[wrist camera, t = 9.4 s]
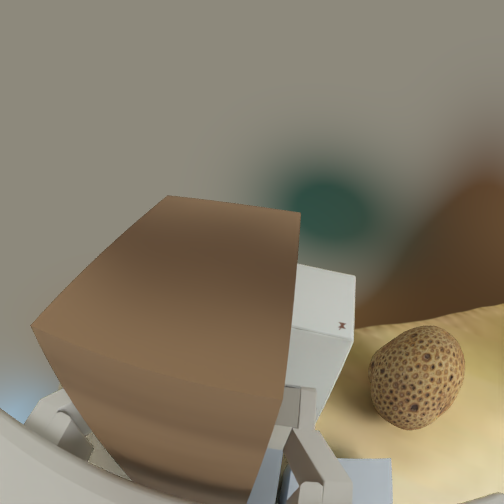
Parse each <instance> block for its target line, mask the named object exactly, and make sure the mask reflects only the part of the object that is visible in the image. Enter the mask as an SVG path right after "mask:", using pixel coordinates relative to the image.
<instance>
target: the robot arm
mask: <svg viewBox="0 0 504 504" xmlns="http://www.w3.org/2000/svg"><path fill="white" fill-rule="evenodd" d="M316 396H317V391H316V388H311V387H300V386H297V385H289V384H285V386H284V394H283V400H282V404H281V407H280V410H279V413H278V416H277V419H276V422H275V426H274V429H273V432H272V435H271V438H270V441H269V443H268V446H267V448H272V449H278V450H283V453H284V456H285V458H286V460H287V462H288V464H289V466H290V468H291V470H292V472H293V474H294V476H295V479H296V481H297V483H298V485H299V487H298V488H297V490H296V491H295V492H294V493H293V494H292V495H291V496H290V497H289V498H288V499H287V501H286V504H352V497H353V482H352V480H351V479H350V477H349V476H348V474H347V473H346V471H345V470H344V468H343V467H342V465H341V464H340V462H339V461H338V459H337V458H336V456H335V455H334V453H333V452H332V450H331V448H330V447H329V445H328V444H327V442H326V441H325V439H324V438H323V436H322V435H321V433H320V431H316V430H315V418H316ZM91 432H92V430H91V429H90V428H89V426H88V425H87V423H86V422H85V420H84V419H83V418H82V416H81V415H80V413H79V412H78V410H77V409H76V407H75V406H74V404H73V403H72V401H71V399H70V398H69V396H68V395H67V393H66V391H65V390H64V388H62V389H60V390H58V391H56V392H54V393H52V394H50V395H48V396H46V397H44V398H42V399H40V400H39V402H38V403H37V405H36V406H35V408H34V409H33V411H32V412H31V414H30V416H29V417H28V419H27V420H26V422H25V423H24V425H23V424H22V423H20V422H19V421H17V420H16V419H14V418H13V417H12V416H10V415H9V414H7V413H6V412H5V411H3V410H2V409H1V408H0V504H202V503H198V502H194V501H190V500H187V499H183V498H180V497H176V496H173V495H169V494H166V493H163V492H160V491H157V490H154V489H151V488H148V487H145V486H143V485H140V484H137V483H135V482H132V481H130V480H127V479H124V478H122V477H120V476H117V475H115V474H113V473H110V472H108V471H106V470H103V469H101V468H99V467H97V466H95V465H93V464H91V463H89V462H88V460H89V458H90V455H91V453H92V451H93V449H94V448H93V446H92V444H91V443H90V442H89V441H88V439H87V438H86V437H85V436H86V435H88V434H89V433H91ZM459 504H504V494H503V493H500V492H497V493H493V494H489V495H486V496H483V497H480V498H477V499H473V500H470V501H466V502H463V503H459Z"/></svg>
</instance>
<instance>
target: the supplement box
mask: <svg viewBox="0 0 504 504" xmlns="http://www.w3.org/2000/svg"><path fill="white" fill-rule="evenodd" d="M355 284H356V277H355V276H354V275H349V274H344V273H339V272H334V271H330V270H325V269H320V268H315V267H311V266H306V265H302V264H298V263H297V272H296V284H295V295H294V305H293V316H292V325H291V335H290V344H289V353H288V362H287V370H286V378H285V384H289V385H297V386H300V387H311V388H316V391H317V396H316V418H315V423H316V422H317V420H318V418H319V416H320V414H321V412H322V410H323V408H324V406H325V404H326V402H327V400H328V398H329V396H330V394H331V391H332V389H333V387H334V385H335V383H336V381H337V379H338V376H339V374H340V372H341V370H342V368H343V365H344V363H345V361H346V358H347V356H348V354H349V351H350V349H351V347H352V345H353V342H354V320H355Z"/></svg>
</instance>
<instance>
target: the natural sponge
mask: <svg viewBox="0 0 504 504" xmlns="http://www.w3.org/2000/svg"><path fill="white" fill-rule="evenodd" d="M464 373H465V361H464V355H463V353H462V350H461V348H460V346H459V344H458V342H457V341H456V339H455V338H454V337H453V336H452V335H450V334H449V333H448V332H446V331H445V330H443V329H441V328H439V327H436V326H421V327H416V328H413V329H410V330H408V331H405V332H403V333H402V334H400V335H399V336H397V337H396V338H394V339H393V340H391V341H390V342H388V343H387V344H386V345H384V346H383V347H382V348H380V349H379V350H378V351H377V352H376V353H375V354H374V355H373V357H372V359H371V363H370V366H369V371H368V375H369V380H370V383H371V396H372V401H373V404H374V407H375V408H376V410H377V411H378V413H379V414H380V415H381V416H382V417H383V418H384V419H385V420H387V421H388V422H390V423H391V424H393V425H394V426H397V427H399V428H401V429H404V430H414V429H420V428H423V427H425V426H427V425H429V424H431V423H432V422H433V421H435V420H436V419H437V418H438V417H439V416H440V415H441V414H443V413H444V412H445V411H446V410H447V409H449V407H450V406H451V405H452V403H453V401H454V400H455V398H456V396H457V394H458V392H459V390H460V388H461V385H462V383H463V379H464Z"/></svg>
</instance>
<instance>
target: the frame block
mask: <svg viewBox="0 0 504 504" xmlns="http://www.w3.org/2000/svg"><path fill="white" fill-rule="evenodd" d="M300 218H301V213H298V212H291V211H285V210H278V209H271V208H264V207H257V206H250V205H243V204H235V203H227V202H219V201H212V200H204V199H195V198H187V197H178V196H167V197H165V198H164V199H163V200H161V201H160V202H159V203H158V204H157V205H155V206H154V207H153V208H152V209H151V210H149V211H148V212H147V213H146V214H145V215H144V216H142V217H141V218H140V219H139V220H138V221H137V222H136V223H134V224H133V225H132V226H131V227H130V228H129V229H127V230H126V231H125V232H124V233H123V234H122V235H121V236H120V237H118V238H117V239H116V240H115V241H114V242H113V243H112V244H111V245H110V246H109V247H107V248H106V249H105V250H104V251H103V252H102V253H101V254H100V255H99V256H98V257H97V258H96V259H95V260H94V261H93V262H92V263H91V264H90V265H88V266H87V267H86V268H85V269H84V270H83V271H82V272H81V273H80V274H79V275H78V276H77V277H76V278H75V279H74V280H73V281H72V282H71V283H70V284H69V285H68V286H67V287H66V288H65V289H64V290H63V291H62V292H61V293H60V294H59V295H58V296H57V298H56V299H54V301H53V302H52V303H51V304H50V305H49V306H48V307H47V308H46V309H45V310H44V311H43V312H42V313H41V314H40V316H39V317H38V318H37V319H36V320H35V321H34V322H33V323H32V324H31V328H32V330H33V332H34V334H35V336H36V338H37V340H38V342H39V344H40V346H41V348H42V350H43V352H44V354H45V356H46V358H47V360H48V362H49V364H50V365H51V367H52V369H53V371H54V373H55V374H56V376H57V378H58V380H59V381H60V383H61V385H62V386H63V388H64V390H65V391H66V393H67V395H68V396H69V398H70V399H71V401H72V403H73V404H74V406H75V407H76V409H77V410H78V412H79V413H80V415H81V416H82V418H83V419H84V420H85V422H86V423H87V425H88V426H89V428H90V429H91V430H92V432H93V433H94V434H95V436H96V437H97V438H98V440H99V441H100V442H101V444H102V445H103V446H104V448H105V449H106V450H107V451H108V453H109V454H110V455H111V456H112V458H113V459H114V460H115V461H116V462H117V464H118V465H119V466H120V467H121V468H122V469H123V471H124V472H125V473H126V474H127V475H128V476H129V477H130V479H131V480H132V481H133V482H135V483H137V484H140V485H143V486H145V487H148V488H151V489H154V490H157V491H160V492H163V493H166V494H169V495H173V496H176V497H180V498H183V499H187V500H190V501H194V502H198V503H202V504H247V501H248V498H249V496H250V493H251V491H252V488H253V485H254V483H255V480H256V477H257V475H258V472H259V469H260V466H261V464H262V461H263V458H264V455H265V452H266V449H267V446H268V443H269V441H270V438H271V435H272V432H273V429H274V426H275V422H276V419H277V416H278V413H279V410H280V407H281V404H282V400H283V394H284V386H285V378H286V370H287V362H288V353H289V344H290V335H291V325H292V316H293V305H294V295H295V284H296V272H297V260H298V247H299V232H300Z"/></svg>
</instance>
